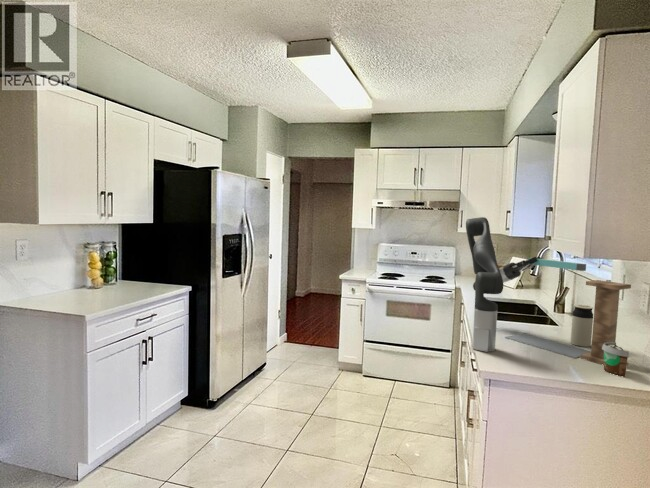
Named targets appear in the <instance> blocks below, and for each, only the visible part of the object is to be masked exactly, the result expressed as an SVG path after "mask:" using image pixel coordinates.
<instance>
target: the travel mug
mask: <svg viewBox="0 0 650 488" xmlns="http://www.w3.org/2000/svg"><path fill="white" fill-rule="evenodd" d="M573 306H574V310H573V311H572V318H571V333H570V344H572V345H574V346H576V347H580V348H582V347H583V348H589V347H591V346H592V333H593V320H594V312H593V310H594V307H593V306H591V305H587V304H580V303H579V304H573Z"/></svg>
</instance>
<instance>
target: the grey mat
mask: <svg viewBox="0 0 650 488" xmlns="http://www.w3.org/2000/svg"><path fill="white" fill-rule="evenodd" d="M504 338H505V339H507V340H511V341H514V342H518V343H522V344H526V345H528V346H532V347H535V348H539V349H540V350H541V349H542V350H546V351H548V352H550V353H551V352H552V353H554V354H558V355H562V356H565V357H568V358H572V359H579V358H581V355H582V354H586V353H589V352H591V350H590V349H589V350H588V349H585V348H582V347H579V346H575V345H574V346H573V345H570V344H568V343H562V342H560V341H556V340H552V339H548V338H544V337H541V336H537V335H534V334H530V333H527V332H523V333H517V334H513V335H509V336H504Z"/></svg>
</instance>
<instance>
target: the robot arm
mask: <svg viewBox="0 0 650 488" xmlns="http://www.w3.org/2000/svg"><path fill="white" fill-rule="evenodd" d="M465 230H466V231H465V232H466V235H467V236H466V237H467V241H468V245H469V246H468V247H469V250H470V255H471V260H472V265H473V272H474V274H475V280H474V282H473V284H472V288H473V290H474V291H475V292H474V310H473V311H474V312H473V313H474V314H473V325H472V326H473V327H472V329H473V330H472V345H471V347H472V349H473V350H477V351H482V352H485V353H489V352H495V350H496V337H497V323H498V310H499V309H498V308H499V307H498V303H496V302H494V301H492V300H489V299H488V298H486V297H485V296H484V294H485V295H499V294H501V293H503V290H504V283H507V282H509V281H512V280H515V279H517V278H519V277H520V276H521V274H522V272H525V271H526V270H530V269H532V268H533V267H536V265H532V263H534V262H537V261H538V260H537V259H542V258H541V256H533V257H530V258H531V259H529V260H528V259H525V260H524V259H523V260H521V261H519V262H516V263H515V262H509V263H508V264H506V265H503V266H501V267H499V265H498V260H497V258H496V257H497V256H496V251H495V246H494V245H493V244H494V243H493V240H492V236H491V228H490V223H489V220H488V218H486V217H485V216H483V217H482V216H481V217H474V218H468V219H466V221H465ZM475 237H479V238H478V239H477V241H475Z"/></svg>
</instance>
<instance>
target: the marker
mask: <svg viewBox="0 0 650 488" xmlns="http://www.w3.org/2000/svg"><path fill="white" fill-rule="evenodd" d="M531 258H532V257H528V259H527V260H529V259H531ZM537 260H538V261H537V262H534V263H532V265H535V266H541V267H547V268H548V267H549V268H557V269H564V270H573V271H580V272H584V271H585V272H586V270H587V264H586V263H579V262H571V261H561V260H553V259H543V258H541V259H537Z"/></svg>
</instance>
